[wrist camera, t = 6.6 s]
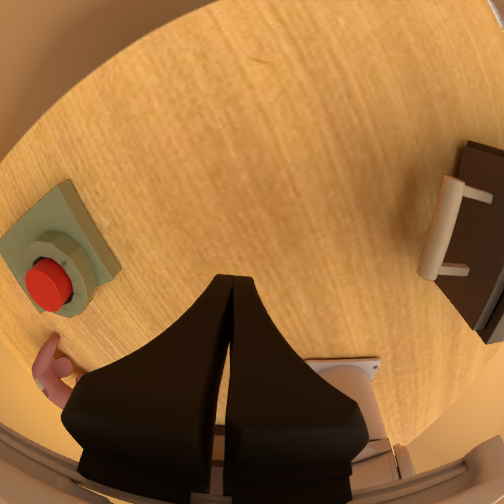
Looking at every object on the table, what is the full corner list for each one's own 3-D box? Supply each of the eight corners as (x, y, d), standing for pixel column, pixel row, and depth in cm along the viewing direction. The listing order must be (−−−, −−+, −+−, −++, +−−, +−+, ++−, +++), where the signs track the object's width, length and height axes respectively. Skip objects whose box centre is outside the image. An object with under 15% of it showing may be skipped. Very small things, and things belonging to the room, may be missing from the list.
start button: (53, 250, 16) (40, 262, 15) (80, 291, 18) (69, 305, 16) (30, 267, 17) (18, 278, 16) (55, 303, 19) (45, 316, 17)
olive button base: (70, 178, 17) (41, 192, 14) (127, 276, 21) (109, 302, 18) (6, 236, 19) (-17, 253, 16) (53, 309, 23) (35, 331, 20)
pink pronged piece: (51, 333, 27) (23, 377, 22) (52, 329, 24) (20, 380, 19) (115, 382, 30) (90, 426, 25) (124, 385, 27) (97, 434, 22)
